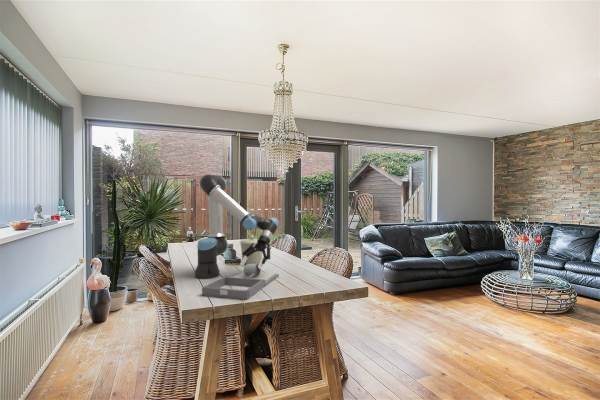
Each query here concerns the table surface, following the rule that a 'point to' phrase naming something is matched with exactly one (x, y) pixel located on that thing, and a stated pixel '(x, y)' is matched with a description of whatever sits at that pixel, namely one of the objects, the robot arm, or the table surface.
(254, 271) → the ceramic mug
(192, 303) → the table surface
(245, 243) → the canister
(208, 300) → the table surface
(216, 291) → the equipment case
